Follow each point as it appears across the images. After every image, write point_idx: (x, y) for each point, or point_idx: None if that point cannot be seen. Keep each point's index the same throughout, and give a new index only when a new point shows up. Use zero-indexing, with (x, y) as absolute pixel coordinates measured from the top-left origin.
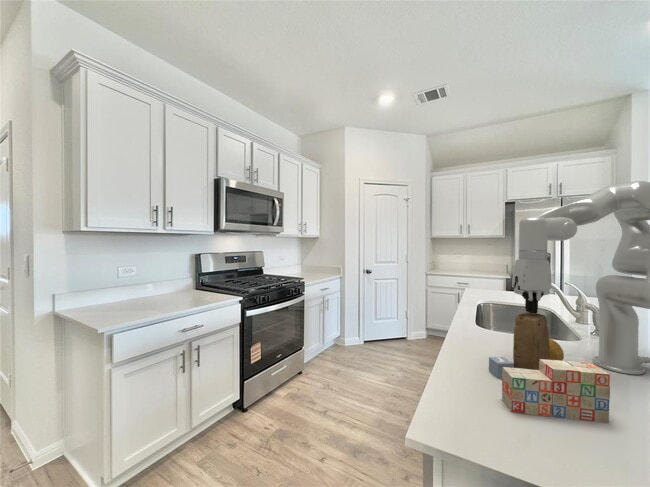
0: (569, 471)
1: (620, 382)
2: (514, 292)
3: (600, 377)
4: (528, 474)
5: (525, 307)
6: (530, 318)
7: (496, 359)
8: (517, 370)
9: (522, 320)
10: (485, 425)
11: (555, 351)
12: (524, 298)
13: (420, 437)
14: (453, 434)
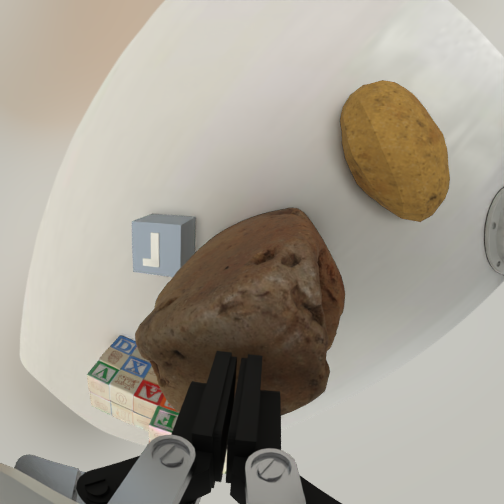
0: (134, 437)
1: (446, 301)
2: (23, 458)
3: None
4: (99, 426)
5: (190, 387)
6: (178, 412)
7: (144, 243)
8: (109, 394)
9: (155, 371)
10: (78, 375)
11: (404, 215)
12: (154, 449)
13: (25, 365)
14: (48, 373)
